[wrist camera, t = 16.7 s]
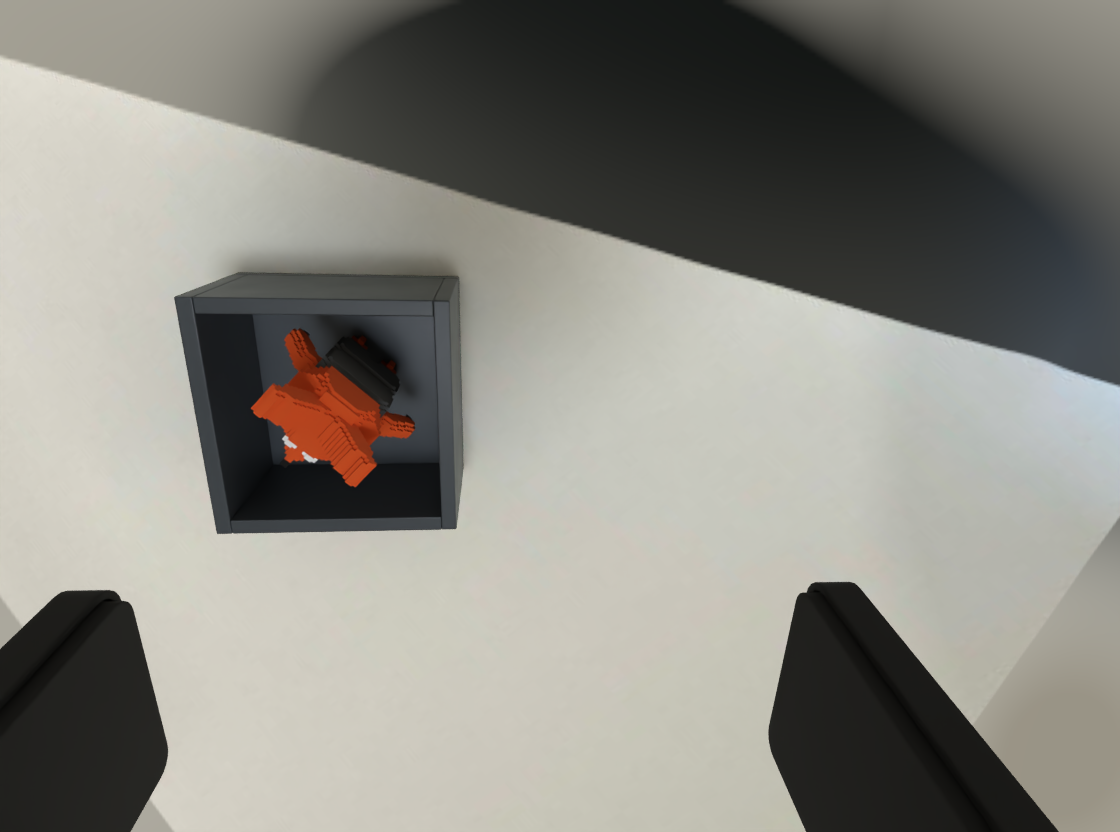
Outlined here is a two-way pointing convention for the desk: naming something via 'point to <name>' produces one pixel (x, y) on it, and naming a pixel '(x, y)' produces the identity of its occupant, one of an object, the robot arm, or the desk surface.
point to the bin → (263, 359)
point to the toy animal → (334, 405)
